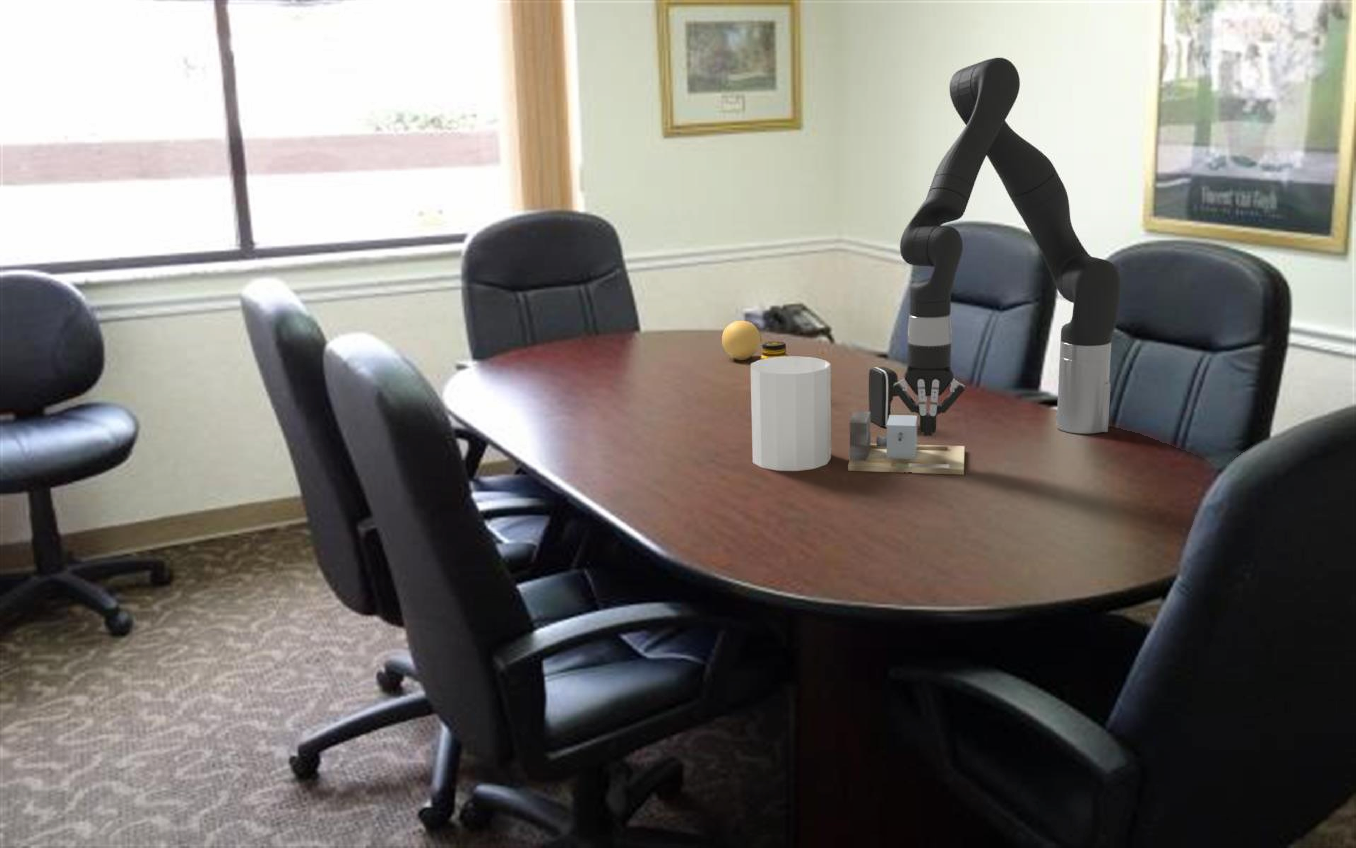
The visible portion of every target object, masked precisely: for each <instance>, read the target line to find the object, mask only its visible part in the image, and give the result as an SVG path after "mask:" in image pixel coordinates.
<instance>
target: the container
mask: <svg viewBox="0 0 1356 848" xmlns="http://www.w3.org/2000/svg"><path fill="white" fill-rule="evenodd" d="M787 356H788V355H787ZM750 396H751V397H750V399H751V400H750V401H751V402H750V404H751V405H750V406H751V443H752V444H751V445H752V449H751V450H752V451H751V452H752V463H753V464H754V465H756V466H758V467H760V468H762V469H767V470H772V471H780V472H783V471H784V472H786V471H787V472H799V471H806V470H807V471H808V470H814V469H817V468H820V467H823V466H826V465H828V464H829V462H830V460H831V458H832V450H831V449H832V448H831V447H832V438H831V437H832V435H831V434H832V432H831V425H832V424H831V422H832V421H831V420H832V417H831V415H832V414H831V413H832V412H831V409H832V408H831V400H832V399H831V363H830V362H829V361H827V360H825V359H821V358H817V357H813V356H798V355H796V356H794V355H791V356H790V355H789V356H788V357H773V358H767V359H761V358H760V359H759V360H756V361H754V362H751V363H750Z"/></svg>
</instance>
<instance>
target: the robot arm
mask: <svg viewBox="0 0 1356 848" xmlns="http://www.w3.org/2000/svg"><path fill="white" fill-rule="evenodd" d="M1020 86H1021V80H1020V74H1019V72H1018V69H1017V68H1016V66H1015V64H1013V63H1012V62H1011V61H1010V60H1009V59H1007V58H1004V57H995V58H994V57H993V58H989V59H985V60H983V61H980V62H977V63H974V64H971V65H969V66H966V67H964V68H963V67H962V68H961V69H959V70H957V71H956V72H954V74H953V75H952V77H951V79H950V82H949V96H950V100H951V102H952V106H953V107H954V109H955V111H956V113H957V114H958V115H959V118H960V119H961V120H962V122H963V123H964V125H965V127H964V129H963V130H962V131H961V133H960V135H959V136H958V137H957V139H956V140H955V141H954V142H953V144H952V145H951V147H950V148H949V149H948V150H947V152H946V153H945V155H944V157H943V158H942V159H941V161H940V163H939V164H938V166H937V168H936V171H935V172H934V175H933V178H932V181H931V185H930V186H929V189H928V192H927V195H926V198H925V199H924V201H923V203H922V204H921V205H920V206H919V207H918V210H917V211H916V212H915V214H914V215H913V217H912V218H911V219H910V221H909V222H908V224H907V225H906V227H905V229H904V230H903V233H902V235H901V238H900V243H899V250H900V255H901V257H902V259H903V261H904V262H905V263H906V264H909V265H911V266H917V267H918V266H919V267H931V268H932V267H933V272H932V274H931V276H930V278H924V279H918V280H916V281H914V282H913V283H912V284H911V286H910V289H909V290H910V291H909V316H908V317H909V318H908V324H907V335H906V336H907V368H906V370H905V372H904V377H903V378H902V379H901V380H898V382H895V383H894V386H893V390H894V391H895V392H896V394H897V395H898V396H897V397H899V399H900V400H901V402H902V403H903V404H904V405H905V406H906V407H907V409H908V410H909V411H910V412H911V413H916V414H918V415H919V430H920V433H923V436H925V437H926V436H928V437H932V436H933V433H934V434H935V433H936V431H937V416H938V415H940V414H944V413H946V412H947V411H948V410H949V409H950V408H951V406H952V405H954V404H955V402H957V399H958V398H959V397H960V396H961V395H962V394H963V393H964V391H965V384H964V383H963V382H959V381H958V380H956V379H955V377H954V373H953V371H952V340H953V334H952V332H953V331H952V321H951V310H952V309H951V308H952V305H951V304H952V303H951V302H952V291H953V285H954V281H955V278H956V274H957V270H958V267H959V264H960V261H961V258H962V255H963V251H964V250H963V248H964V245H963V244H964V243H963V238H962V236H961V233H960V232H959V230H958V229H957V228H955V227H954V226H949V225H944V224H946V223H950V222H955V221H957V220H960V219H961V218H962V217H963V215H965V211H966V209H967V206H968V204H969V201H970V198H971V196H972V192H973V189H974V186H975V184H976V180H977V178H978V176H979V172H980V170H981V169H982V166H983V164H984V161H985V159H986V157H987V159H988V160H989V162H990V163H991V165H992V167H993V169H994V170H995V172H996V174H997V175H998V177H999V178H1000V181H1001V183H1002V185H1003V187H1004V188H1005V191H1006V193H1007V195H1008V196H1009V199H1010V200H1011V202H1012V203H1013V205H1014V207H1015V209H1016V210H1017V213H1018V214H1019V215H1020V217H1021V218H1022V221H1023V222H1024V224H1025V225H1026V227H1027V229H1028V231H1029V233H1030V234H1031V236H1032V238H1033V239H1034V241H1035V242H1036V245H1037V246H1038V248H1039V249H1040V252H1041V255H1042V256H1043V259H1044V261H1045V263H1046V265H1047V267H1048V270H1049V273H1050V275H1051V277H1052V280H1053V282H1054V285H1055V287H1056V289H1057V291H1058V292H1059V294H1060V296H1062V298H1064V299H1065V300H1067V301H1068V302H1070V303H1073V306H1072V314H1071V315H1072V316H1071V319H1070V321H1069V322H1068V323H1065V324H1064V325H1062V326H1061V331H1060V343H1059V344H1060V345H1059V346H1060V347H1059V366H1058V368H1059V369H1058V383H1057V384H1058V386H1057V387H1058V389H1057V407H1056V409H1057V411H1056V427H1057V429H1058V430H1060V431H1063V432H1066V433H1071V434H1089V435H1090V434H1097V433H1108V432H1109V418H1110V417H1109V416H1110V400H1111V382H1110V374H1111V373H1110V371H1111V370H1110V369H1111V354H1112V338H1113V337H1112V336H1113V333H1114V331H1115V329H1116V326H1117V323H1118V319H1119V318H1118V316H1119V310H1120V309H1119V307H1120V297H1121V287H1122V286H1121V276H1120V273H1119V270H1118V268H1117V266H1116V265H1115V264H1114V263H1113V262H1112V261H1109V260H1107V259H1105V258H1098V257H1095V256H1091V255H1090V253H1088V251H1087V250H1086V249H1085V247H1084V246H1083V244H1082V242H1081V241H1080V239H1079V237H1078V236H1077V234H1076V232H1075V230H1074V228H1073V225H1072V219H1071V212H1070V211H1071V210H1070V202H1069V196H1068V193H1067V189H1066V187H1065V185H1064V183H1063V180H1062V179H1061V177H1060V175H1059V173H1058V172H1057V170H1056V168H1055V166H1054V164H1053V162H1052V161H1051V160H1050V158H1048V157H1047V156H1046V155H1045V154H1044V153H1043V152H1042V151H1041V150H1040V149H1038V148H1037V147H1035V145H1033V144H1031V143H1030V142H1029V141H1028V140H1026V139H1024V138H1023V137H1022V136H1020V135H1019V134H1018V133H1016V131H1014V130H1013V128H1012V127H1011V126H1010V125H1009V124H1008V122H1007V121H1006V119H1007V118H1008V116H1009V114H1010V112H1011V110H1012V109H1013V107H1014V105H1015V103H1016V100H1017V98H1018V95H1019V92H1020ZM950 385H951V386H950ZM908 386H909V387H910V389H911V390H912V391H913V393H914V394H915V395H916V396H918V403H917V402H915V400H914V399H913V397H912V396H911V395H910V394H909V392H908ZM949 386H950V387H949ZM948 387H949V391H950V393H949V394H948V395H947V396H946V398H945V399H944V400H943V401H942V402H941V403H940V404H938V400H939V399H938V398H939V396H941V395H943V394H944V392H945V391H946V389H947V388H948ZM927 397H930V403H929V411H928V403H927V402H928V401H927Z"/></svg>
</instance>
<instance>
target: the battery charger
mask: <svg viewBox="0 0 1356 848" xmlns="http://www.w3.org/2000/svg"><path fill="white" fill-rule="evenodd" d="M898 377H899V376H898V374H897V372H896V371H894V370H893V369H891V368H889V367H887V366H877V367H876V366H875V367H871V368H870V369H869V372H868V412H870V422H873V423H874V424H876V425H878V426H880V427H882V428H887V422H888V419H889V415H892V414H891V404H892V401H893V400H894V397H895V398H896V397H899V396H898V395H897V394H896V392H895V391H894V390H893V386H894V383H895V382H899V378H898Z"/></svg>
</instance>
